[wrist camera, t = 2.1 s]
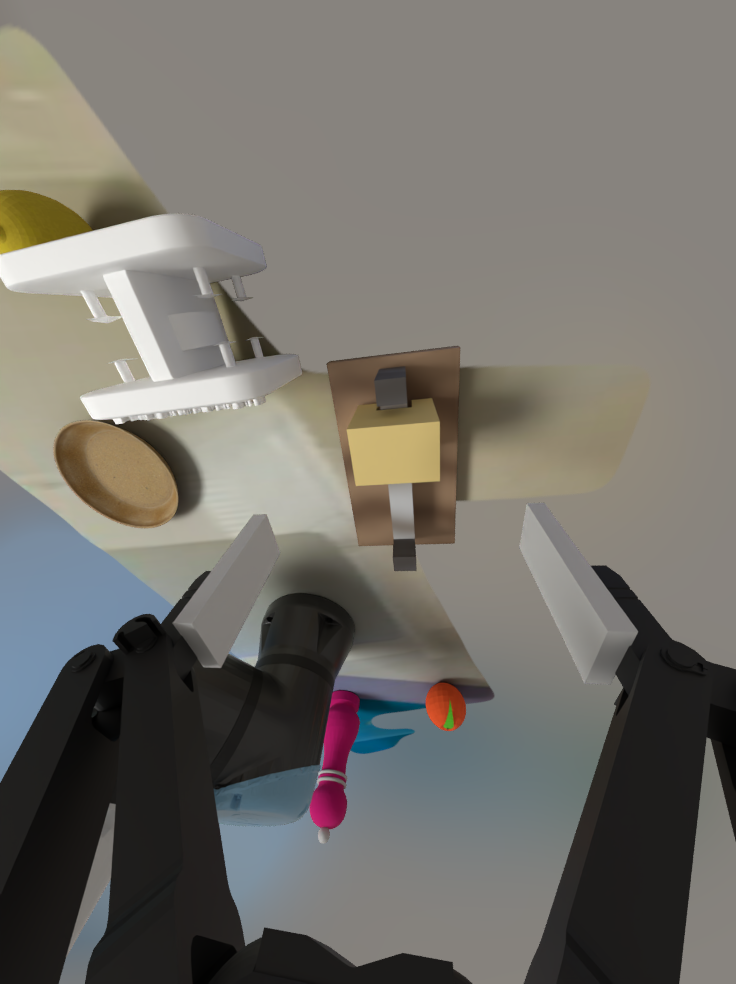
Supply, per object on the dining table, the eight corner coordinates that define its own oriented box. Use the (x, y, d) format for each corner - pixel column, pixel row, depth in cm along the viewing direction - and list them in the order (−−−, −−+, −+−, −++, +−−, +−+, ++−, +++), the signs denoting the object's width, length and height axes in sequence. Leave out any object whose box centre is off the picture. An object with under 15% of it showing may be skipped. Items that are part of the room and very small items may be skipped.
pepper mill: (347, 710, 65) (327, 852, 48) (320, 696, 63) (290, 838, 46) (369, 699, 62) (356, 847, 45) (341, 684, 60) (316, 833, 43)
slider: (432, 447, 31) (439, 481, 24) (364, 452, 32) (355, 486, 26) (431, 398, 28) (439, 421, 22) (358, 405, 29) (346, 429, 23)
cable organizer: (280, 243, 25) (198, 197, 15) (310, 377, 30) (264, 408, 20) (125, 277, 27) (-34, 256, 17) (178, 395, 33) (79, 431, 23)
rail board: (452, 535, 38) (461, 576, 32) (360, 538, 40) (352, 578, 34) (457, 345, 27) (472, 354, 21) (329, 361, 29) (310, 373, 23)
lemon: (63, 192, 25) (-67, 147, 18) (131, 236, 26) (33, 209, 19) (63, 265, 27) (-51, 250, 20) (124, 302, 28) (36, 299, 22)
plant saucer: (210, 474, 38) (198, 484, 35) (162, 534, 44) (149, 546, 42) (95, 386, 33) (73, 391, 31) (60, 466, 39) (39, 476, 37)
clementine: (426, 669, 54) (429, 714, 48) (466, 673, 54) (474, 719, 47) (422, 692, 58) (425, 737, 52) (459, 696, 58) (466, 741, 51)
